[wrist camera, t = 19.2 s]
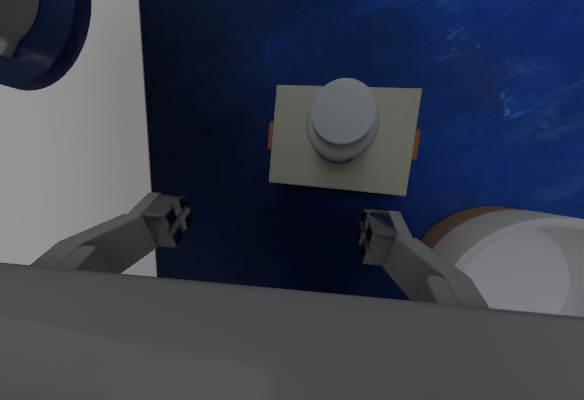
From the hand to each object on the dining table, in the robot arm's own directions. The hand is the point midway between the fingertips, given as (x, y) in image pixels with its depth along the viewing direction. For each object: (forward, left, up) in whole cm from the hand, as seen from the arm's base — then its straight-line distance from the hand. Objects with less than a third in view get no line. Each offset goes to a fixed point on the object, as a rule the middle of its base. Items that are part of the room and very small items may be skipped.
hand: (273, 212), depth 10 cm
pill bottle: (+3, +6, -14) cm, 16 cm away
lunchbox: (+3, +6, -20) cm, 21 cm away
